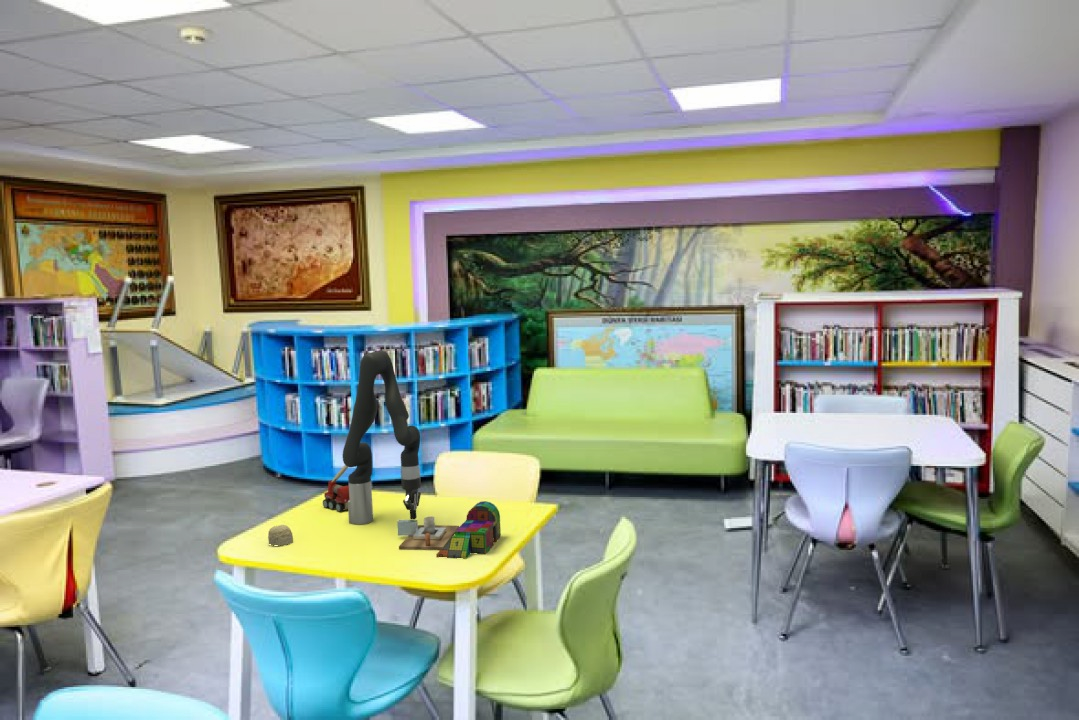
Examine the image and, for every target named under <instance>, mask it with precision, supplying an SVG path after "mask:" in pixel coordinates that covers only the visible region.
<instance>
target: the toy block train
mask: <svg viewBox="0 0 1079 720" xmlns="http://www.w3.org/2000/svg"><path fill="white" fill-rule="evenodd" d="M501 530H502V529H501V515H500V511H499V509H498V507H497V506H496V505H495V504H494V503H492V502H490V501H479V502H477V503H476V504H475V505H474V506H472V508H471V509H469V510H468V512H467V514H466V520H465V521H464V522H462V524H460V525H459V528H458V529H457V530H455V535H454V536H453V537H452V538H451V539H450V541H449V542H448V543H447V544H446V545H445V546H444V547H443V548H442V549H441V550H438V551H437V553H436V558H439V557H447V558H446V559H457V558H463V559H462V560H467V558H468V557H469V556H470V555H471V554H470V553H477V554H476V555H486V553H487V554H488V552H489V551H490V550H491V549H492V546H493V547H494V543H497V540H498V541H499V539H501V537H502V534H501Z"/></svg>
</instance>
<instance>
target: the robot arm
mask: <svg viewBox="0 0 1079 720" xmlns="http://www.w3.org/2000/svg"><path fill="white" fill-rule="evenodd" d="M378 375H380V376H381V378H382V381H383V383H384V384H383V385H384V405H385V407H386V410H387V413H388V415H389V417H390V420H391V422H392V423H391V424H392V428H393V433H394V438H395V441H396V442H398V443H397V444H399V445H400V446H403V450H402V451H401V453H400V468H401V469H400V476H401V477H400V479H401V489H402V490H405V499H403V500H402V503H403V506H404V507H405V509H406V510H407V511H409V518H410V519H409V520H417V517H418V515H417V509H418V507H419V506H420V505H419V504H420V499H421V493H422V492H419V489H420V488H421V487H422V483H421V482H422V481H421V479H422V478H421V469H420V458H419V457H420V456H419V452H420V451H419V450H420V445H421V432H420V429H419V428H418V427H417V426H415V425H409V424H408V419H409V417H410V414H409V412H408V409H407V407H406V405H405V403H404V400H403V397H402V395H401V392H400V389H399V385H398V381H397V377H396V374H395V369H394V366H393V362H392V359H391V356H390V355H389V354H388V353H387V352H386V351H385V350H375V351H373V352H372V351H371V352H368V353H366V354H364V355H363V356H362V357H361V360H360V364H359V374H358V382H357V383H358V384H357V388H356V394H355V395H356V397H355V401H354V406H353V409H352V410H353V411H352V417H351V421H350V425H349V429H348V432H347V433H348V434H347V437H346V440H345V442H344V447H343V449H342V462H343V464H344V465H346V466H347V467H348V468H355V470H353V471H352V472H351V473H350V474H349V475H348V477H347V479H348V480H347V481H348V486H349V499H350V500H349V501H348V509H347V510H348V511H347V512H348V523H349V524H352V525H367V524H370V523H372V522H374V513H373V512H374V510H373V508H374V507H373V492H372V491H373V490H372V489H373V488H372V474H373V453H372V448H371V446H370V444H368V442H364V441H362V439H363V437H364V436H365V435H366V433H367V432H368V430H369V429H370V428H371V426H372V425H373V424H374V421H375V420H376V416H377V411H378V408H379V407H378V405H379V404H378V399H377V396H376V393H375V391H374V390H375V389H374V388H375V381H376V378H377V376H378ZM361 441H362V442H361Z"/></svg>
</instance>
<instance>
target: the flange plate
mask: <svg viewBox="0 0 1079 720" xmlns="http://www.w3.org/2000/svg"><path fill="white" fill-rule="evenodd" d="M396 523H397V524H396V525H397V527H396V528H397V536H400V537H401V536H403V537H404V536H406V537H408V536H413V539H425V534H424V533H425V530H424V527H421V528H420V529H419V530H418V525H419V523H418V519H398V520H397V521H396ZM445 532H446V528H435V533H436V534H430V539H434V540H440V538H441V537H442V536H443V534H444V533H445Z"/></svg>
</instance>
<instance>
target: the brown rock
mask: <svg viewBox="0 0 1079 720" xmlns="http://www.w3.org/2000/svg"><path fill="white" fill-rule="evenodd" d="M267 539H268V545H269V544H271V545H278V546H277V547H281V546H280V545H286V546H288V545H287V544H289V545H291V544H293V543H294V536H293V532H292V530H291V528H290V527H289V526H288V525H285V524H280V525H274V526H272V527H270V528H269V531H268V537H267ZM290 543H291V544H290Z"/></svg>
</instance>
